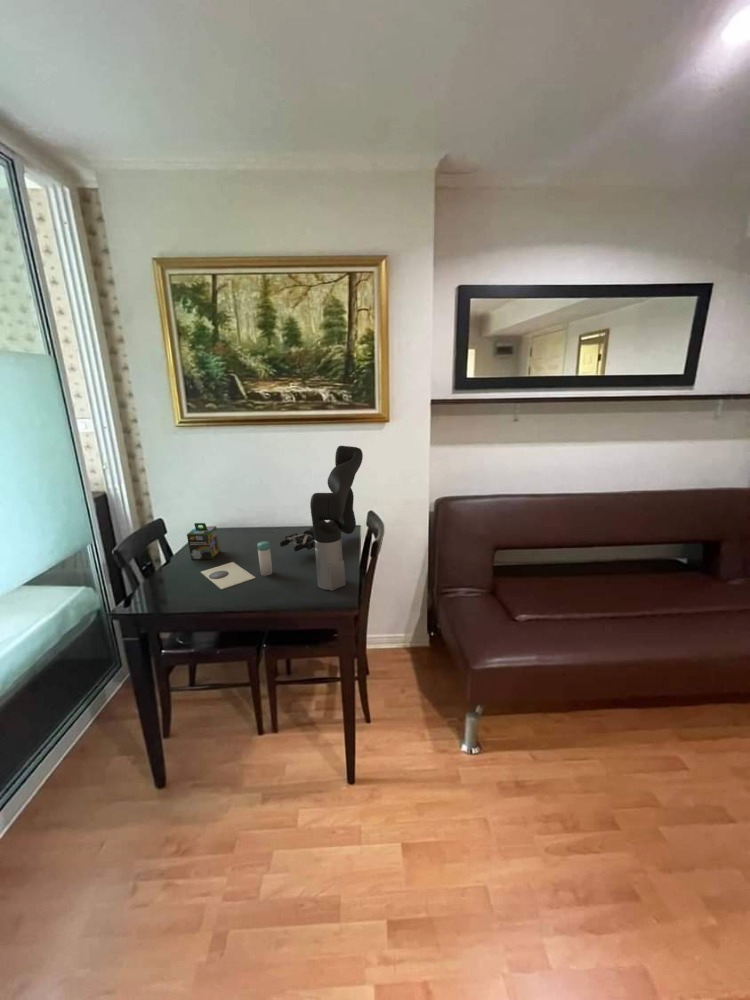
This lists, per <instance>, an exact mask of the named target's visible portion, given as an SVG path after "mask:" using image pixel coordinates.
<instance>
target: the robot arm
mask: <svg viewBox="0 0 750 1000" xmlns="http://www.w3.org/2000/svg"><path fill="white" fill-rule="evenodd" d="M334 456H335V459H334V461H335V462H334V465H335V466H334V467H333V468H332V469H331V472H330V473H329V475H328V478H327V486H328V488H329V490H330V492H315V493H313V494H312V495H311V498H310V502H309V503H310V505H309V506H310V516H311V523H312V526H311V527H309V528H307V529H305V530H304V532H303V533H301V534H299V535H298V533H297V532H294V533H291V534H289V535H285V536H284V539H283V540H281V541H280V542H279V546H280V547H281V548H283V547H286V546H288V545H291V544H292V545H293V549H294V552H298V551H301V550H306V549H307V550H311V549H313V548H314V553H315V564H316V565H315V567H316V577H317V578H316V579H317V586H318V588H319V589H321V590H325V591H326V590H328V591H331V592H333V591H335V590H337V589H340V588H342V587H345V586H346V571H345V569H346V568H345V561H344V559H343V543H342V542H343V541H342V533H344V534H346V535H350V534H352V533H353V532H354V531H355V529H356V526H357V524H356V523H357V522H356V521H357V520H356V516H355V511H354V499H355V498H354V497H355V495H354V492H353V489H352V486H353V483H354V481H355V477H356V474H357V472H358V471H359V469H360V467H361V465H362V462H363V457H364V455H363V450H362V448H359V447H357V446H350V445H349V446H348V445H339V446H337V449H336V451H335V454H334Z"/></svg>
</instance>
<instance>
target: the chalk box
mask: <svg viewBox="0 0 750 1000" xmlns="http://www.w3.org/2000/svg"><path fill="white" fill-rule="evenodd" d="M186 536H187V537H186V538H187V544H188V549H189V555H190V559H191V560H212V559H214V557H216V556H217V555H218V554H219V553H220V551H221V547H220V541H219V535H218V529H217V526H215V525H214V526H213V525H211V526H207V524H206V523H205V522H194V529H191V530H190V531H189V532H188V533H187V534H186Z"/></svg>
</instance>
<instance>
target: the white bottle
mask: <svg viewBox="0 0 750 1000" xmlns="http://www.w3.org/2000/svg"><path fill="white" fill-rule="evenodd" d="M256 545H257V553H258V563H259V573H260V576H262V577H263V576H264V577H266V576H267V577H268V576H271V575H272V574H273V565H272V564H273V563H272V556H271V545H270V542H269V541H266V540H265V541H264V540H263V541H260V542H257V544H256Z"/></svg>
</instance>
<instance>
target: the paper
mask: <svg viewBox="0 0 750 1000" xmlns="http://www.w3.org/2000/svg"><path fill="white" fill-rule="evenodd" d="M200 574H202V575H203V576H204V577H205V578H206V579H208V580H209V581H210V582H212V583H213V584H214V585H215V586H216V587H217V588H219V589H220V590H224V589H225V590H226V589H228V588H230V587H234V586H236V585H240V584H243V583H245V582H248V581H250V580H251V581H252V580H254V579H256V576H254V575H253V574H251V572H250V573H249V572H248V571H247V570H245V569H244V568H242V567H241V566H239V565H238V564H236V562H234V561H231V562H228V563H225V564H222V565H219V566H216V567H212V568H209V569H205V570H202V571H200Z"/></svg>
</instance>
